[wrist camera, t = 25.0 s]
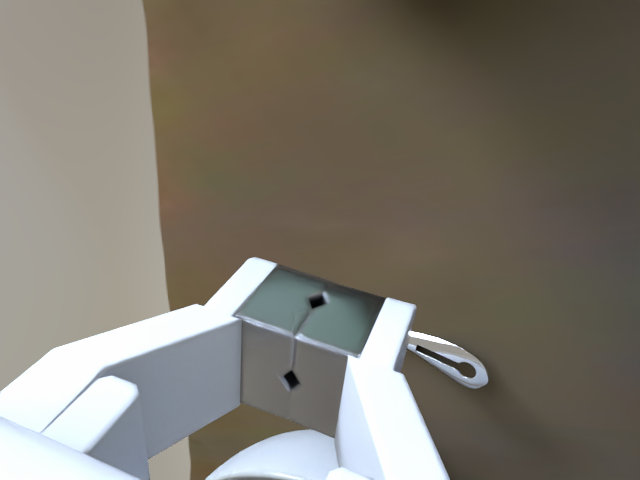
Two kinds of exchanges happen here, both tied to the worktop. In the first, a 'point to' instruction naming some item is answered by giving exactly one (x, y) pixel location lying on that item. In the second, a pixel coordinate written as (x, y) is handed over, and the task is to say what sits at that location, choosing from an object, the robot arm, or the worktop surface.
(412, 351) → the silver spoon
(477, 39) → the worktop surface
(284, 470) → the decorative bowl
